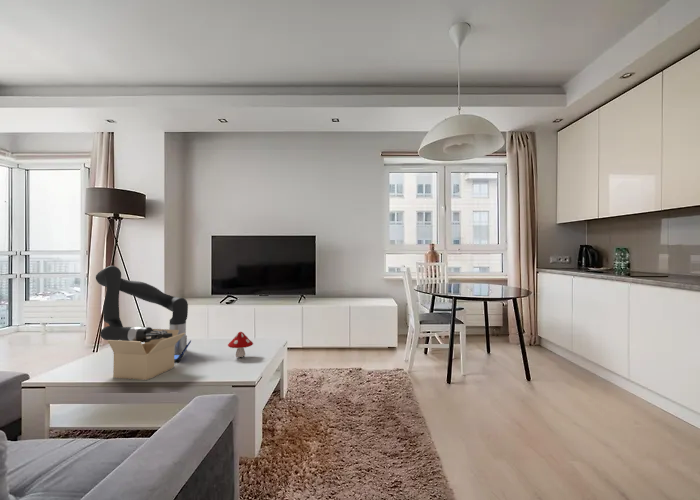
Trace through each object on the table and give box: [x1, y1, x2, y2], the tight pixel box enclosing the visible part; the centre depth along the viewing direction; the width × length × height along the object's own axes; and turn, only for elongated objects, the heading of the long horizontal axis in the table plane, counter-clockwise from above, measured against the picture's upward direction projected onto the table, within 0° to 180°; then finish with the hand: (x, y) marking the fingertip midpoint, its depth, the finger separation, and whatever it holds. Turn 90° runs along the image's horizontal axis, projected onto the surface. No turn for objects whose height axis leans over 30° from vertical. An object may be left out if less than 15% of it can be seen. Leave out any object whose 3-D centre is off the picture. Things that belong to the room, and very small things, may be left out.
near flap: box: [148, 333, 185, 354], centre depth 180 cm, size 19×9×1 cm
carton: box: [107, 328, 179, 381], centre depth 182 cm, size 28×19×19 cm, turn 170°
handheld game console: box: [174, 340, 192, 364], centre depth 207 cm, size 16×13×9 cm
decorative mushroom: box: [227, 331, 254, 358], centre depth 210 cm, size 14×14×15 cm
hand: (171, 335), depth 180 cm, fingers closed
